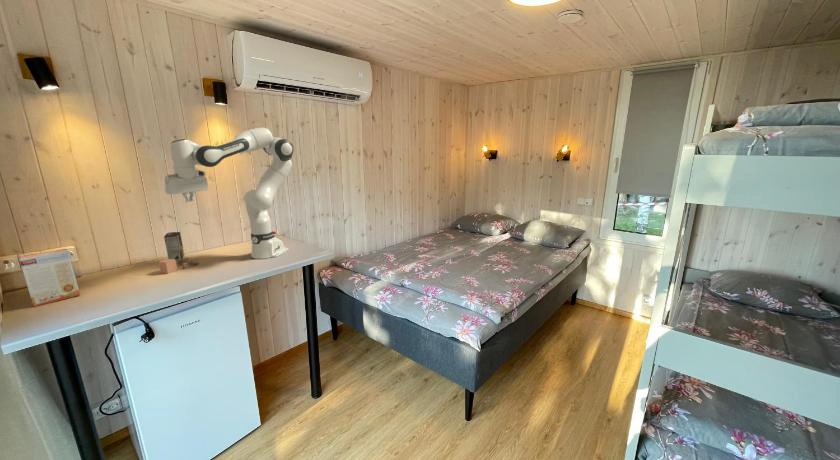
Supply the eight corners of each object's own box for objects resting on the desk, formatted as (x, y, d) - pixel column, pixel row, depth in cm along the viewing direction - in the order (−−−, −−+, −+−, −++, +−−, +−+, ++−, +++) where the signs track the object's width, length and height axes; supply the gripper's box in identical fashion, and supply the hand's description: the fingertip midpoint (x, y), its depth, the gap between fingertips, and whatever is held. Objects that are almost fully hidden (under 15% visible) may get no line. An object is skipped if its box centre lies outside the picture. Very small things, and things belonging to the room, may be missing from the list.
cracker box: (78, 292, 154) (66, 247, 149) (80, 295, 150) (68, 250, 145) (32, 303, 143) (18, 255, 138) (33, 307, 139) (18, 258, 135)
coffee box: (172, 259, 199) (167, 232, 196) (185, 257, 202) (180, 231, 198) (168, 263, 191) (163, 236, 188) (182, 262, 194) (177, 234, 190)
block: (170, 269, 180) (168, 258, 179) (177, 270, 179) (175, 259, 178) (160, 272, 176) (158, 261, 174) (168, 273, 174) (165, 262, 173)
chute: (187, 263, 192) (186, 257, 191) (200, 264, 189) (199, 258, 188) (161, 272, 178) (159, 266, 177) (173, 274, 175) (172, 267, 174)
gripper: (169, 175, 156) (174, 204, 159) (208, 172, 175) (212, 198, 178) (159, 174, 158) (164, 204, 161) (198, 171, 177) (202, 198, 180)
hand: (189, 201), depth 170 cm, fingers closed
